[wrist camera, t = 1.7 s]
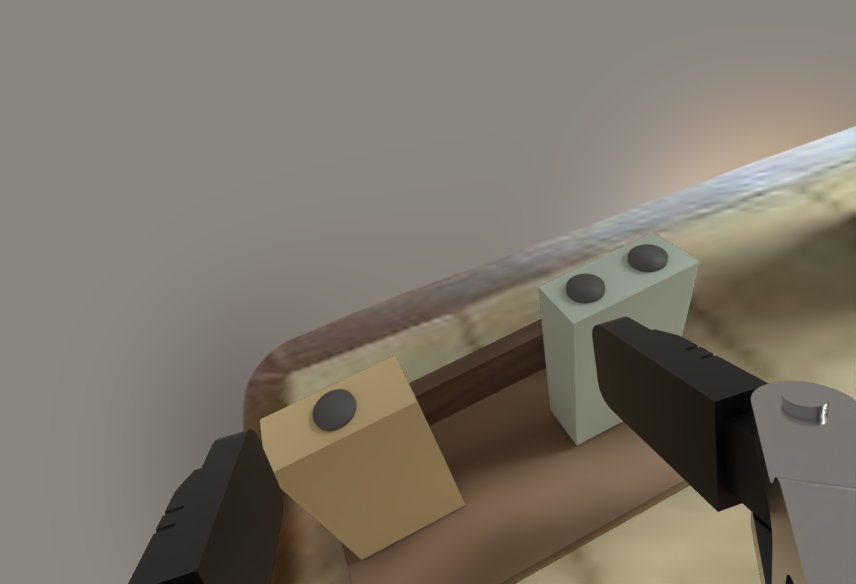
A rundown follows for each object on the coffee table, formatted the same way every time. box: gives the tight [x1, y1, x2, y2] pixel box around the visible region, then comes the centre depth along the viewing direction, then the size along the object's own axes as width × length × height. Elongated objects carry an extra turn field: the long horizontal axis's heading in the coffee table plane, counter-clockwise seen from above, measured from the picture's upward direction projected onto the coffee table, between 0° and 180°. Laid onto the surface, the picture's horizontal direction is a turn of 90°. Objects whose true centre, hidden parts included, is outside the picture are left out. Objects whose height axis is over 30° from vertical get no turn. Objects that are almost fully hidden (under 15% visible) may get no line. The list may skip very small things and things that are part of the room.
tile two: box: [538, 232, 700, 446], centre depth 26 cm, size 3×7×12 cm, turn 113°
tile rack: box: [342, 319, 689, 584], centre depth 29 cm, size 12×24×6 cm, turn 113°
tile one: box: [260, 355, 465, 560], centre depth 24 cm, size 3×7×12 cm, turn 113°
